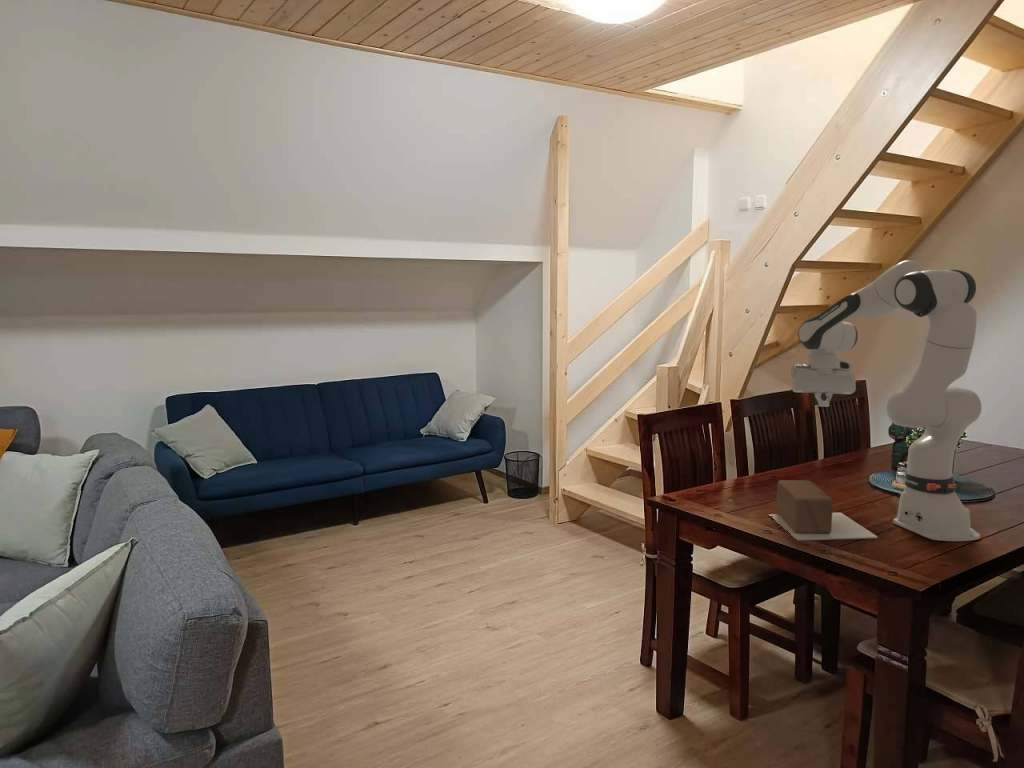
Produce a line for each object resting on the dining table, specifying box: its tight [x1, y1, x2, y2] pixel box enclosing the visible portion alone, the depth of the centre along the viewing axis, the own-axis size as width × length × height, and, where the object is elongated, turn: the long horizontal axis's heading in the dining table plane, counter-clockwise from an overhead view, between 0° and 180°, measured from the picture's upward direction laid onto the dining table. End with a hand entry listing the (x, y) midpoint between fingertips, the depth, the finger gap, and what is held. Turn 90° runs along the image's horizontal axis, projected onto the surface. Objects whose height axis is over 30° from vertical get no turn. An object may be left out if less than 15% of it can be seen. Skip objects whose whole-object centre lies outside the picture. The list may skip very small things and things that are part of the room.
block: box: [776, 479, 834, 533], centre depth 210 cm, size 10×10×20 cm
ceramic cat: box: [887, 421, 914, 469], centre depth 264 cm, size 20×6×20 cm, turn 37°
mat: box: [767, 512, 879, 541], centre depth 208 cm, size 21×22×1 cm
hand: (823, 406), depth 242 cm, fingers closed
